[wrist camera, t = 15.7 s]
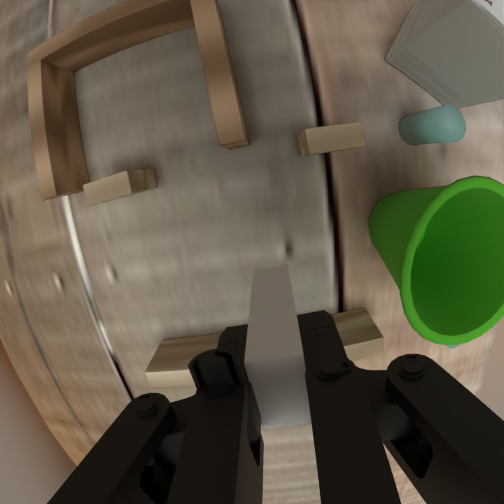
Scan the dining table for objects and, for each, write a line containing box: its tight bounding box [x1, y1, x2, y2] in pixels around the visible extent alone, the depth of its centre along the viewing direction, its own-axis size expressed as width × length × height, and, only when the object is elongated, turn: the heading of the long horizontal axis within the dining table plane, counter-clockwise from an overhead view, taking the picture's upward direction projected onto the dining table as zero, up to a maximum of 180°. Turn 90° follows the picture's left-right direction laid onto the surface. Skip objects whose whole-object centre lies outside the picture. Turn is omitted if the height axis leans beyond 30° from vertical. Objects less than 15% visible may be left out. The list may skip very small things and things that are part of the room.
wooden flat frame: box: [27, 0, 384, 387], centre depth 20 cm, size 28×22×5 cm
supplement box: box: [385, 0, 504, 109], centre depth 13 cm, size 7×7×13 cm
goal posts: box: [399, 105, 466, 348], centre depth 20 cm, size 17×2×6 cm, turn 11°
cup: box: [369, 176, 504, 345], centre depth 18 cm, size 9×9×11 cm
